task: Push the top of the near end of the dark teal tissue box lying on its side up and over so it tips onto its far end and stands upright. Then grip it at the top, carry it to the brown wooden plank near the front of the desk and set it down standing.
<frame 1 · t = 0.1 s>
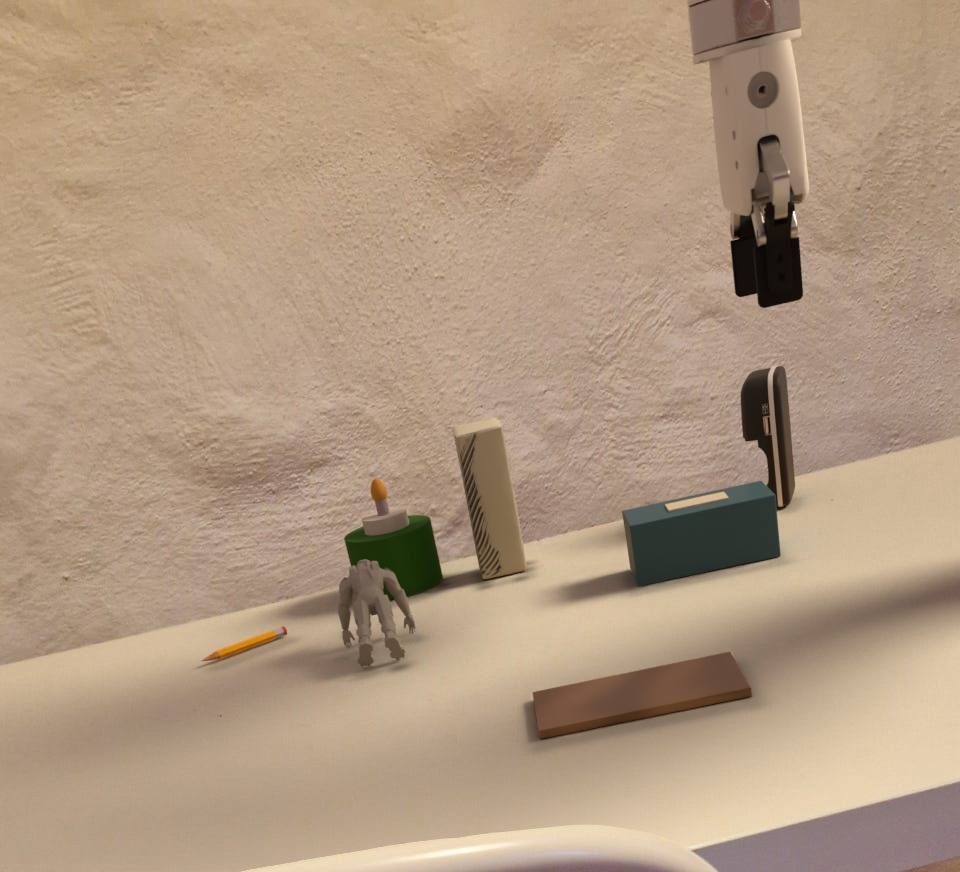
hand: (768, 298, 106), 19 cm above the table, tool pointing down, fingers open, 9 cm apart
tissue box: (703, 562, 119), on the table
pencil: (245, 651, 125), on the table
box: (504, 572, 131), on the table
brown wooden plank: (638, 698, 94), on the table
candle: (401, 589, 134), on the table
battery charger: (773, 503, 132), on the table
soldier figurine: (382, 649, 118), on the table
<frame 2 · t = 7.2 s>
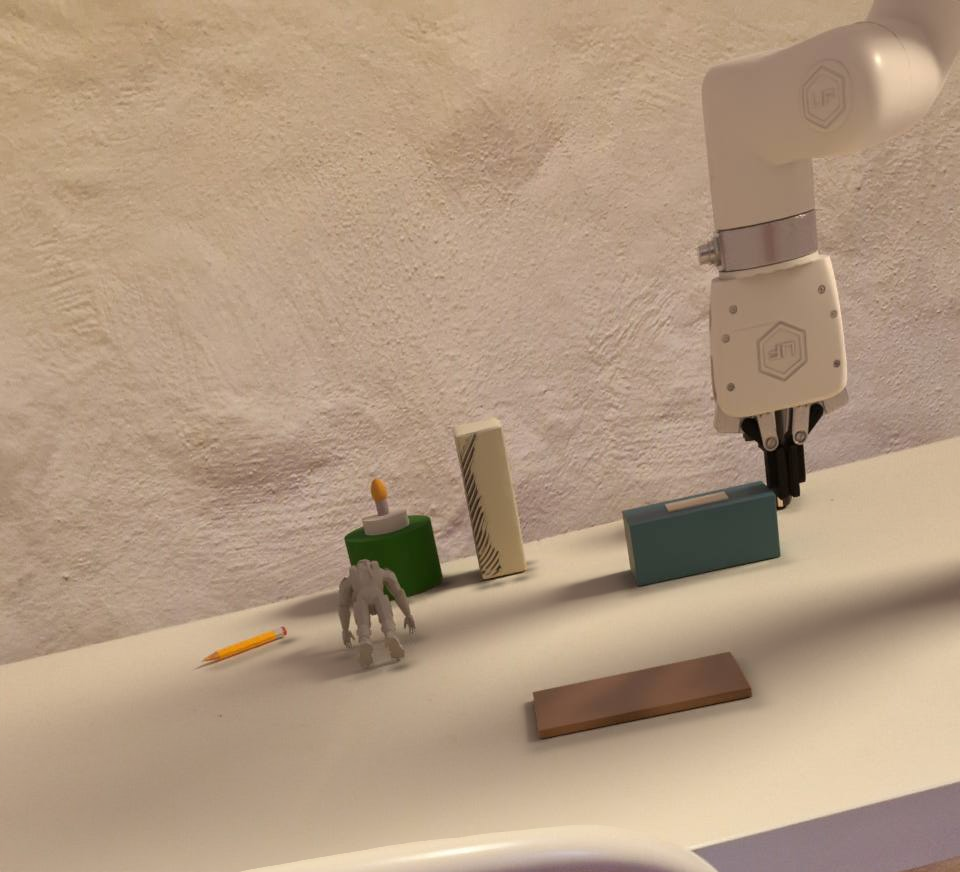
hand: (787, 494, 116), 4 cm above the table, tool pointing down, fingers closed
tissue box: (703, 563, 119), on the table, touching gripper
everything else where it was.
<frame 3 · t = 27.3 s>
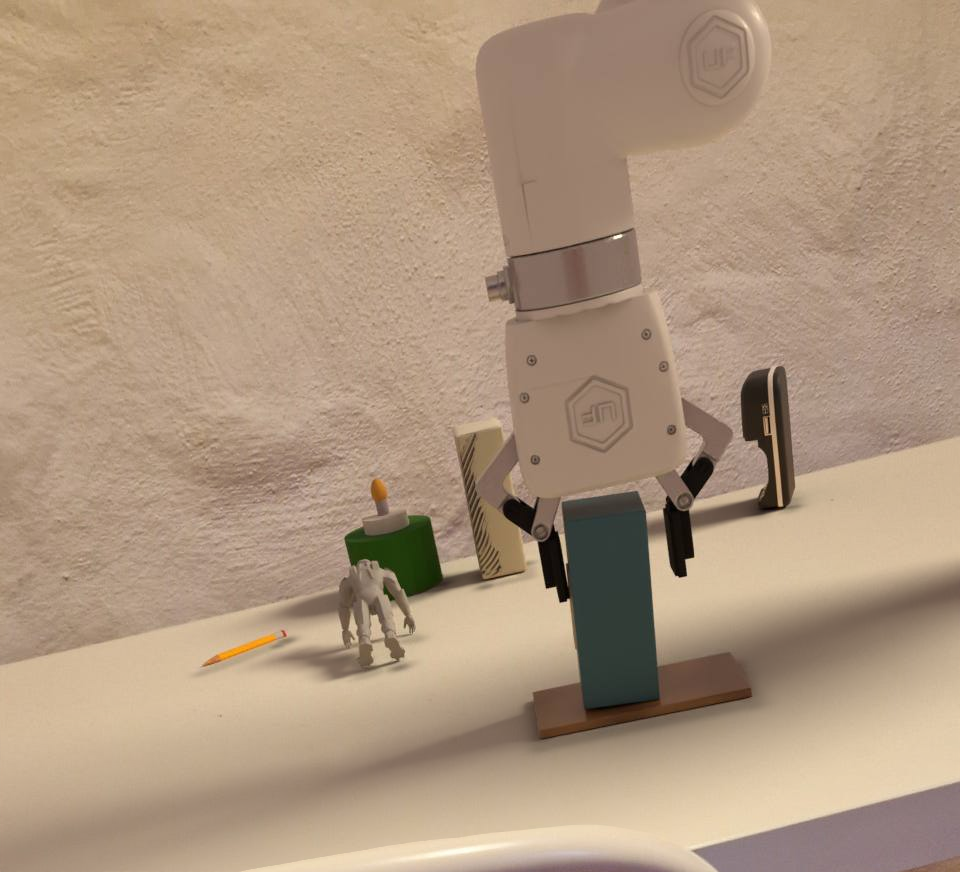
hand: (620, 582, 90), 8 cm above the table, tool pointing down, fingers open, 7 cm apart
tissue box: (649, 595, 91), point 7 cm above the table, tilted 86°, touching brown wooden plank, gripper
everything else where it was.
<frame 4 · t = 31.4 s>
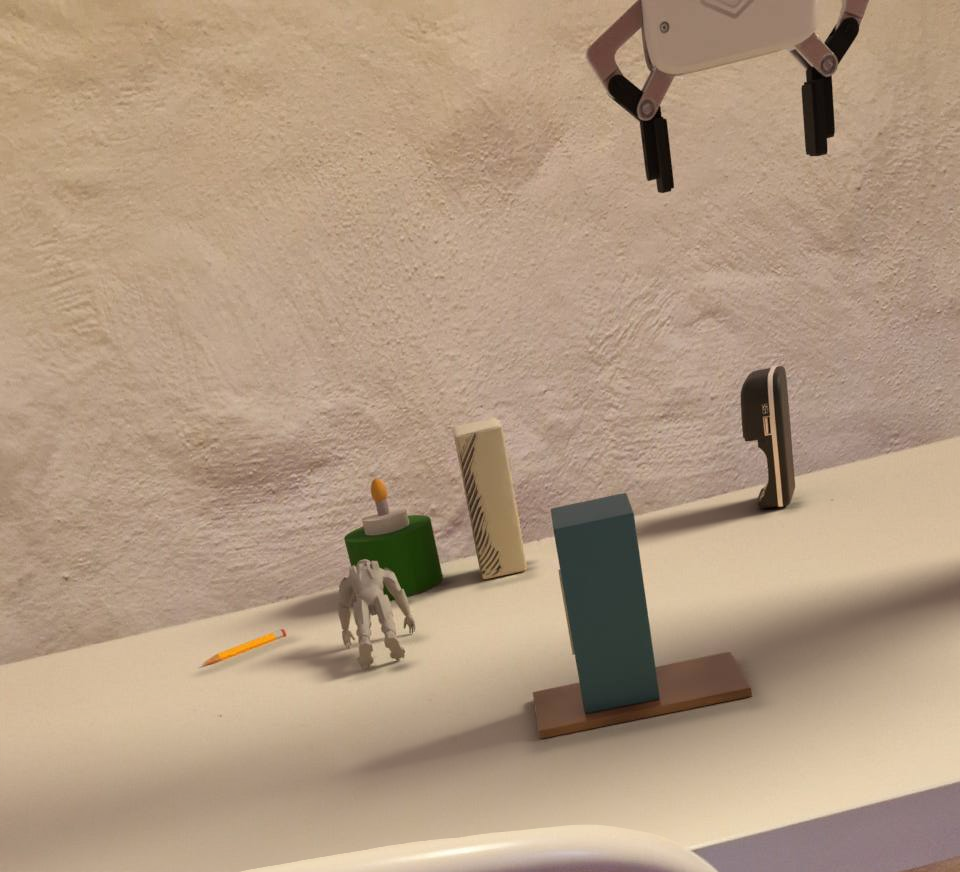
hand: (740, 173, 89), 28 cm above the table, tool pointing down, fingers open, 9 cm apart
tissue box: (643, 596, 91), point 7 cm above the table, tilted 90°, touching brown wooden plank
everything else where it was.
at the end: tissue box tilted 90°; tissue box inside the target area on the brown wooden plank (1.3 cm from its centre), point 6.6 cm above the brown wooden plank's base; the gripper is holding nothing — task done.
